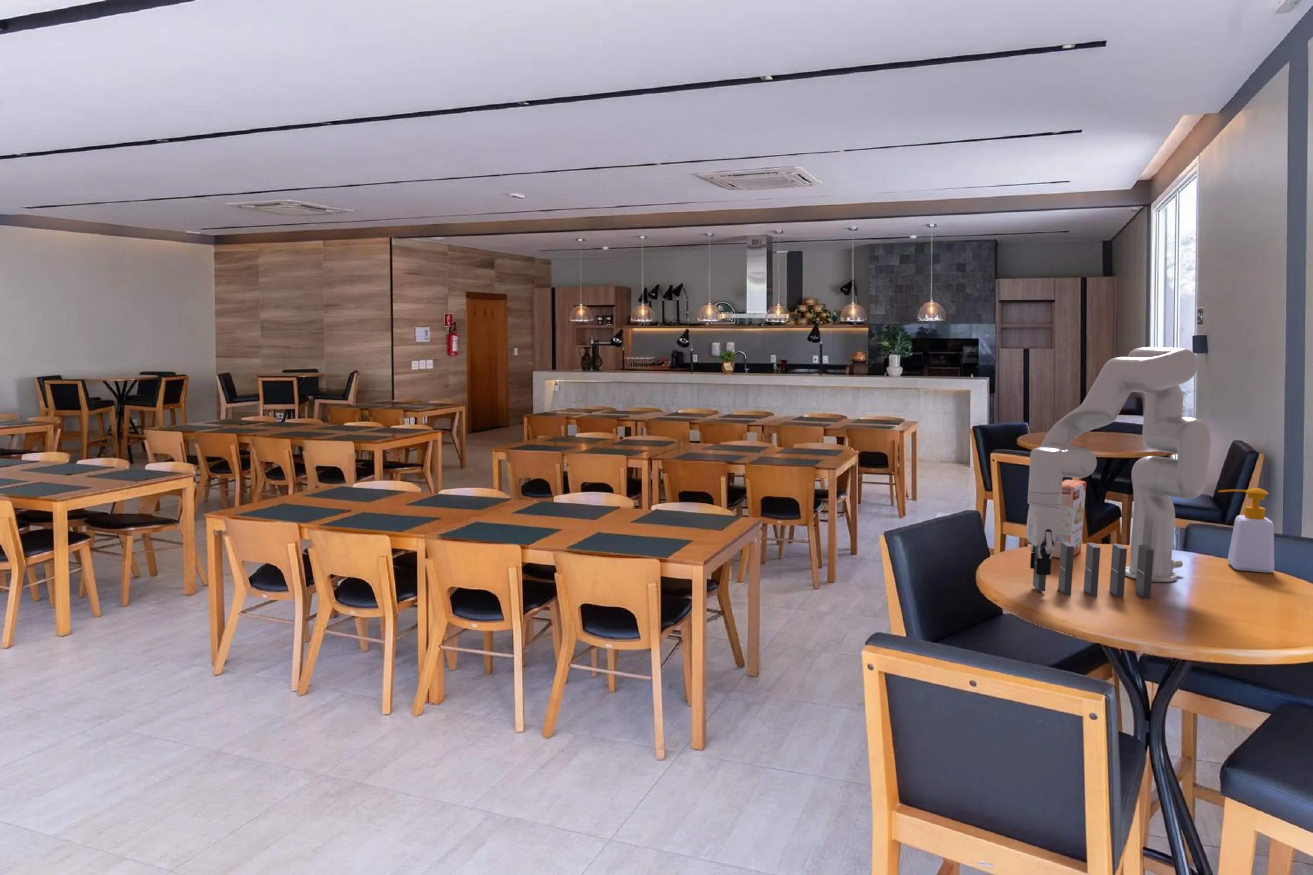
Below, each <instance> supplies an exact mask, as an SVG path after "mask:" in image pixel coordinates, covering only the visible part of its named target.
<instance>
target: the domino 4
mask: <svg viewBox="0 0 1313 875" xmlns="http://www.w3.org/2000/svg"><path fill="white" fill-rule="evenodd" d="M1127 553H1128V548H1126V547H1125V546H1123V545H1122V544H1120V543H1112V550H1111V563H1110V577H1109V578H1110V579H1109V590H1108V591H1109V592H1110V593H1111V594H1112V595H1113V596H1114V597H1115V598H1124V597H1125V596H1124V595H1125V594H1124V593H1125V583H1126V575H1125V570H1126V567H1127Z"/></svg>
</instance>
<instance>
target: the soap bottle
mask: <svg viewBox="0 0 1313 875" xmlns="http://www.w3.org/2000/svg"><path fill="white" fill-rule="evenodd" d="M1227 492H1241V493H1245V494H1247V498H1248V499H1251V500H1252V503H1251V505H1245V506H1244V507H1245V508H1244V514H1239V515H1236V517H1235V519H1234V523H1233V529H1232V534H1231V539H1230V544H1229V551H1228V556H1227V562H1228V563H1229V565H1230V566H1231V567H1232V568H1233V569H1235V570H1237V571H1241V572H1254V573H1263V572H1264V573H1266V574H1268V573H1269V574H1270V573H1273V572H1274V570H1275V531H1274V530H1275V529H1274V528H1275V527H1274V526H1275V525H1274V523H1273V521H1272V520H1270V519H1269V518H1268V517H1266V516H1265V515H1266V507H1263V506H1260V501H1261V500H1265V499H1266V498H1265V497H1266V496H1267V495H1269V492H1268V491H1267V490H1265V489H1263V488H1260V487H1259V488H1258V487H1253V488H1248V489H1222V490H1218V493H1227Z"/></svg>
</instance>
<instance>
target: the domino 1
mask: <svg viewBox="0 0 1313 875" xmlns="http://www.w3.org/2000/svg"><path fill="white" fill-rule="evenodd" d="M1041 546H1046V545H1045V543H1042V544H1041ZM1043 549H1045V548H1042V551H1043ZM1037 558H1039V557H1038V546H1035V560H1034V569H1033V572H1032V573H1033V576H1032V586H1033V587H1034V588H1035V589H1036V590H1037V591H1038V592H1045V591H1046V583H1047V575H1038V574H1036V564H1037Z"/></svg>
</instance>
